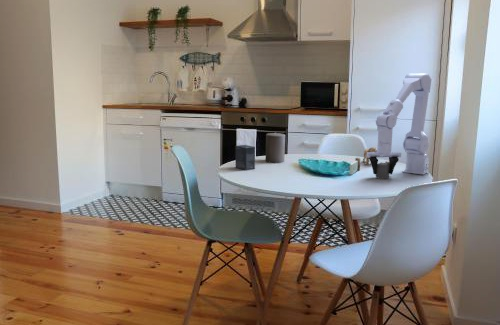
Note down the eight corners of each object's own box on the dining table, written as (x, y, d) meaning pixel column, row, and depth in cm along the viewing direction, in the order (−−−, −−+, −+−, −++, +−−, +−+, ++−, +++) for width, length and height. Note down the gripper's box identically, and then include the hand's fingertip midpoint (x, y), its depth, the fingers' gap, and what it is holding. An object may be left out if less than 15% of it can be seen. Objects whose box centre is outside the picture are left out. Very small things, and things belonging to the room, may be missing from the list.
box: (255, 169, 218) (255, 146, 216) (245, 170, 214) (245, 147, 212) (244, 166, 224) (244, 144, 222) (235, 167, 220) (235, 145, 218)
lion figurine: (379, 166, 227) (380, 147, 226) (368, 166, 227) (369, 147, 225) (367, 160, 242) (368, 143, 240) (357, 160, 241) (358, 143, 239)
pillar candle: (263, 162, 234) (263, 132, 231) (268, 158, 243) (268, 130, 240) (282, 163, 231) (283, 133, 229) (286, 160, 241) (287, 131, 238)
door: (351, 174, 206) (352, 164, 205) (347, 174, 207) (347, 164, 206) (357, 170, 215) (357, 160, 214) (352, 170, 216) (353, 160, 215)
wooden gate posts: (390, 174, 209) (390, 161, 208) (388, 174, 207) (389, 162, 206) (356, 169, 219) (356, 157, 217) (354, 170, 217) (354, 158, 216)
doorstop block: (389, 177, 203) (390, 163, 202) (384, 179, 199) (385, 165, 198) (380, 175, 205) (381, 162, 204) (375, 177, 201) (376, 164, 200)
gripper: (397, 141, 204) (395, 171, 206) (364, 141, 202) (363, 172, 205) (404, 143, 197) (401, 175, 199) (370, 143, 196) (368, 175, 198)
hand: (382, 173), depth 202 cm, fingers closed on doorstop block, 6 cm apart
